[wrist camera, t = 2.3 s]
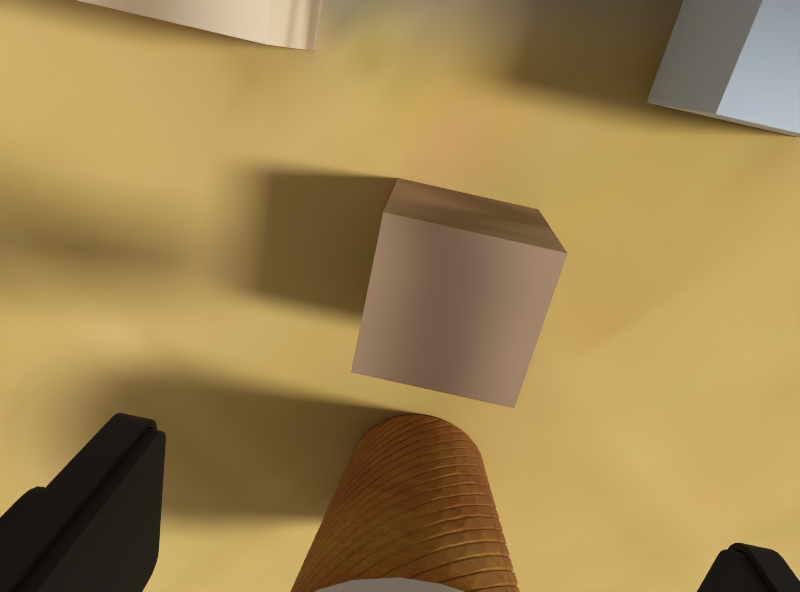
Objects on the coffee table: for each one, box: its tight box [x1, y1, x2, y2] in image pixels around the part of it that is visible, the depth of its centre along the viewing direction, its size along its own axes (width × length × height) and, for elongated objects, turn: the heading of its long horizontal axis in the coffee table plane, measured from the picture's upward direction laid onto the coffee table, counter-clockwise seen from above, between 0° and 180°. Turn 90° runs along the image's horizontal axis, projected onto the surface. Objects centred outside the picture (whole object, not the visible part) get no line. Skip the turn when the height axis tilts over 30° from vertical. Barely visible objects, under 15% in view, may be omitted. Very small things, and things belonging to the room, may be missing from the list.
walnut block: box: [351, 178, 567, 408], centre depth 20 cm, size 6×6×6 cm
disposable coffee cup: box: [291, 415, 520, 592], centre depth 21 cm, size 10×10×12 cm
